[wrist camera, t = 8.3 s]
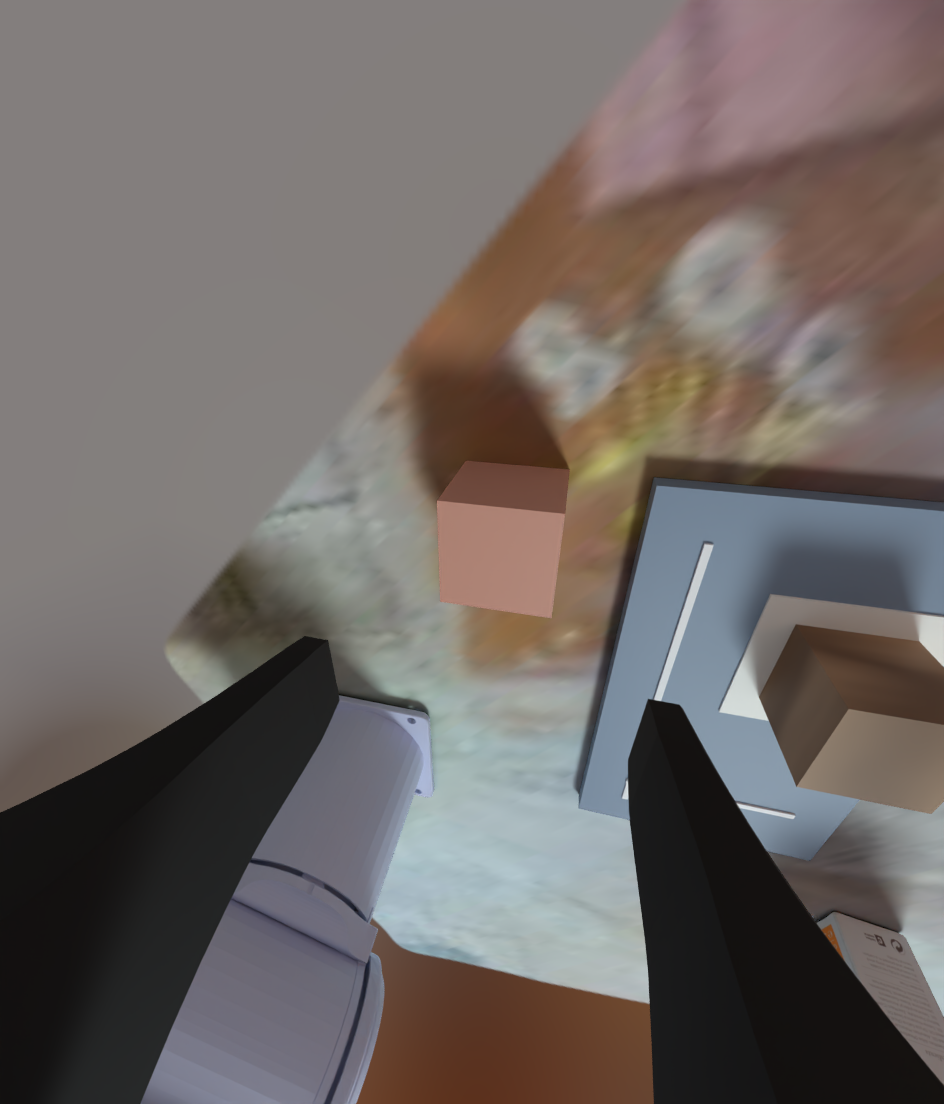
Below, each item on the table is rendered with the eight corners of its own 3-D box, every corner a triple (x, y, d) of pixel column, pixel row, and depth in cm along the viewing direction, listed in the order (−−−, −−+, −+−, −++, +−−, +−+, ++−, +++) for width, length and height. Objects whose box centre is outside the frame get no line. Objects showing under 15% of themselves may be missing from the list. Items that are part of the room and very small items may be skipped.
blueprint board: (579, 795, 26) (578, 810, 25) (653, 477, 16) (657, 486, 15) (803, 844, 24) (810, 863, 23) (1060, 512, 14) (1087, 525, 13)
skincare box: (830, 907, 26) (980, 1290, 16) (905, 932, 26) (1107, 1341, 16) (773, 942, 29) (870, 1279, 19) (839, 965, 29) (972, 1321, 19)
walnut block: (759, 697, 19) (796, 786, 15) (796, 624, 17) (848, 709, 13) (866, 715, 18) (931, 814, 14) (919, 641, 16) (1009, 736, 12)
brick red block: (466, 547, 19) (440, 601, 16) (466, 460, 17) (436, 500, 14) (557, 559, 19) (551, 618, 15) (569, 468, 17) (564, 514, 13)
